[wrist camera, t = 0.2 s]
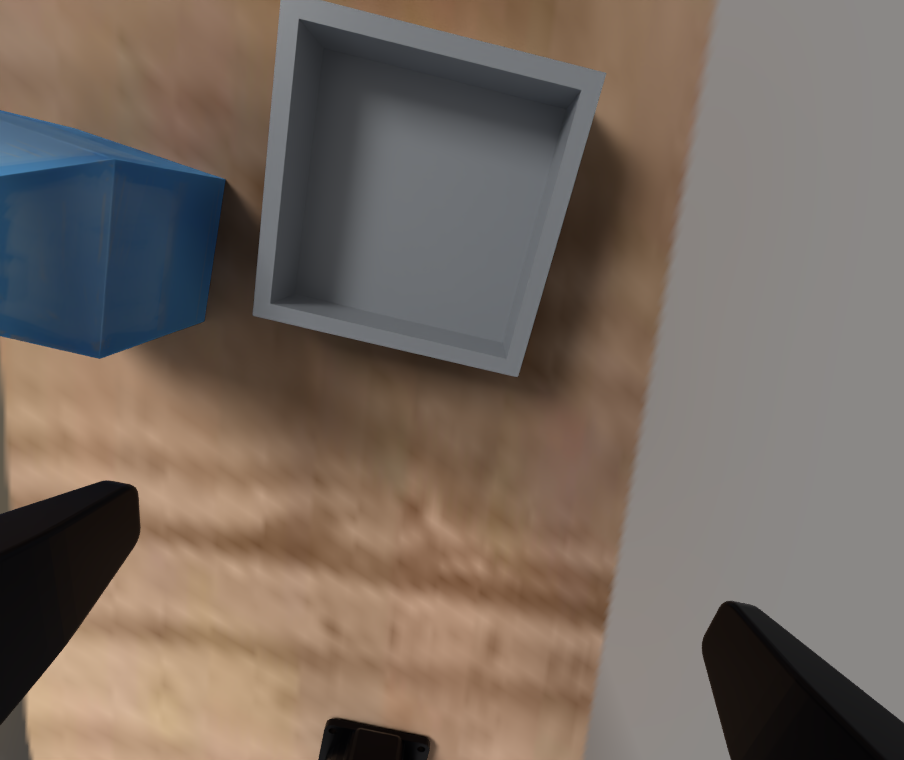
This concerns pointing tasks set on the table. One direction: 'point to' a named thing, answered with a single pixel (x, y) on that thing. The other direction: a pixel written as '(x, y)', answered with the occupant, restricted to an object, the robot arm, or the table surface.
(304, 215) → the tray
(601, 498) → the table surface
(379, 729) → the robot arm
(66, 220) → the perfume bottle
